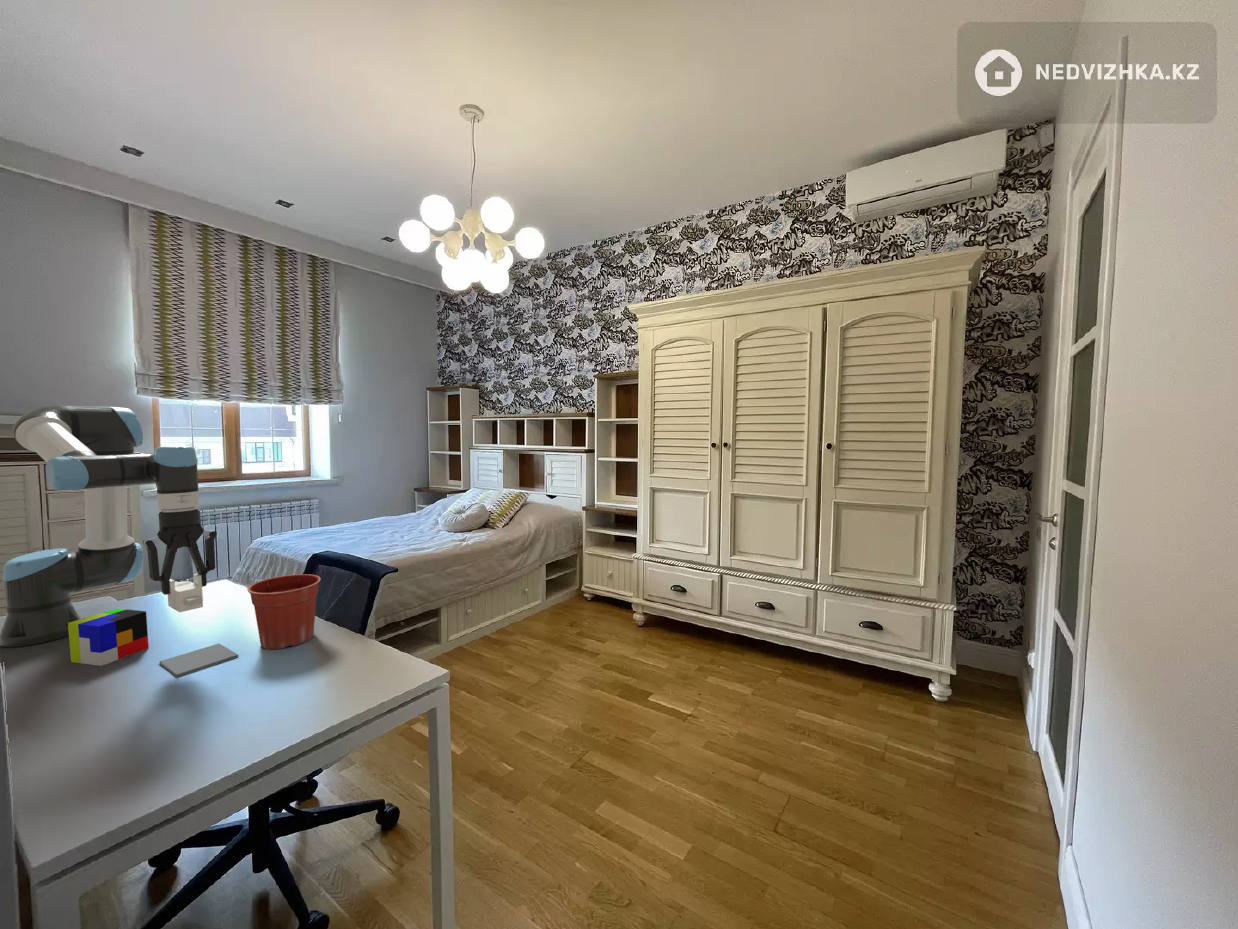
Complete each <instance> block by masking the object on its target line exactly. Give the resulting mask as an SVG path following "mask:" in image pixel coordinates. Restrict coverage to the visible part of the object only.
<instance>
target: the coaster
mask: <svg viewBox="0 0 1238 929" xmlns="http://www.w3.org/2000/svg"><path fill="white" fill-rule="evenodd" d="M235 658H239V654H238V653H236V652H235V651H233V650H231V649H229V648H228V647H226V646H224V645H222V644H221V643H216V644H213V645H212V644H211V645H210V646H206V647H203V648H200V649H195V650H193V651H189V652H186V653H183V654H179V655H176V656H173V657H170V658H166V659H163V660H160V661H158V662H159V664H160V665H161V667H163V668H164V669H166V670H167V671H168V672H170V673H171V674H172V675H173V676H175V677H176V678H178V677H181V676H184V675H187V674H190V673H193V672H196V671H200V670H203V669H205V668H208V667H212V666H214V665H217V664H221V663H225V662H227V661H229V660H233V659H235Z"/></svg>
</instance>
